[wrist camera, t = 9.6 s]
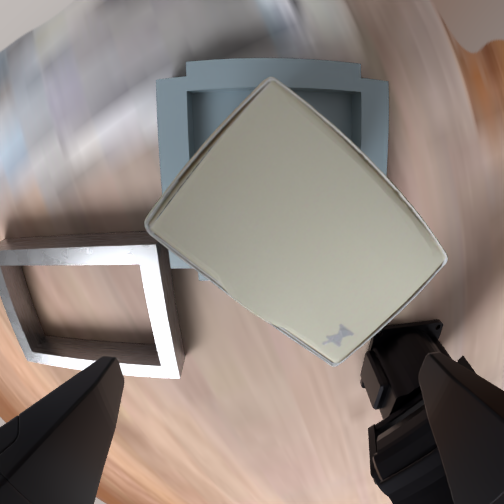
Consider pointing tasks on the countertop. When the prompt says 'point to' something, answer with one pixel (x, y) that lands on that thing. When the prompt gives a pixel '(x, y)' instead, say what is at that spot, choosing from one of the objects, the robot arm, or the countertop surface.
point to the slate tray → (241, 86)
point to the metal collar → (95, 253)
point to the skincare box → (297, 225)
